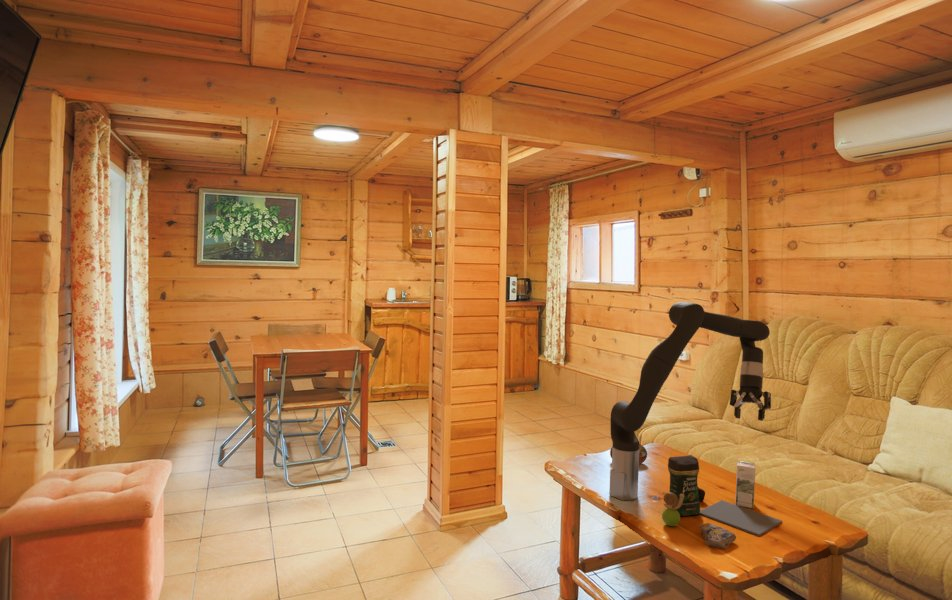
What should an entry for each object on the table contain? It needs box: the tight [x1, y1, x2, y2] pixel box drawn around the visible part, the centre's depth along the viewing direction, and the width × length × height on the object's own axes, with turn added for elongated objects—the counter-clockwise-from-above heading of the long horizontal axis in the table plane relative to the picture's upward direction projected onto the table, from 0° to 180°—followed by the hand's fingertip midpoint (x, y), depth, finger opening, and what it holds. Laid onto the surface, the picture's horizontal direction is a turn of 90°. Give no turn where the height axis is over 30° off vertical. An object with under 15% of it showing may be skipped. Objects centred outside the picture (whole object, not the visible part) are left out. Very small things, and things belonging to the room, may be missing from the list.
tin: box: [609, 444, 648, 465], centre depth 235 cm, size 15×3×8 cm, turn 90°
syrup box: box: [734, 460, 757, 510], centre depth 194 cm, size 6×6×14 cm
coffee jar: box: [667, 454, 701, 517], centre depth 187 cm, size 10×8×19 cm
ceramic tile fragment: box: [698, 522, 737, 550], centre depth 168 cm, size 12×3×10 cm
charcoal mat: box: [697, 499, 783, 537], centre depth 184 cm, size 16×20×1 cm
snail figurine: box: [661, 490, 685, 527], centre depth 177 cm, size 5×6×12 cm
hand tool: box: [698, 486, 706, 502], centre depth 208 cm, size 23×5×6 cm, turn 178°
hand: (748, 419), depth 206 cm, fingers open, 8 cm apart
